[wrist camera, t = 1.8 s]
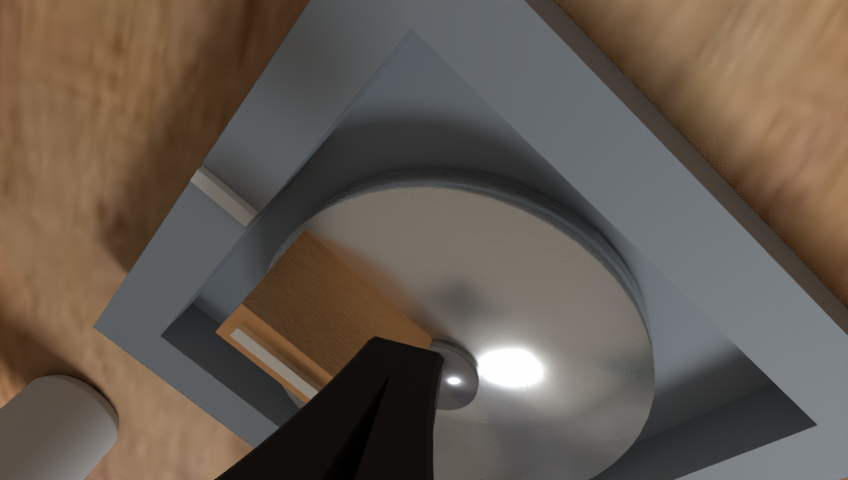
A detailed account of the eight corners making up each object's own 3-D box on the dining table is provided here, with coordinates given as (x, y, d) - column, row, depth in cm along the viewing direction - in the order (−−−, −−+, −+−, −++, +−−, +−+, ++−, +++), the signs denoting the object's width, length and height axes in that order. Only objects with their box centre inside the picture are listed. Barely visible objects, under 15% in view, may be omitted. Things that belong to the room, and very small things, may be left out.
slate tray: (909, 373, 16) (958, 453, 14) (470, 546, 26) (457, 609, 24) (429, -129, 13) (392, -131, 10) (137, 287, 23) (86, 332, 20)
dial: (744, 373, 16) (789, 539, 12) (462, 503, 23) (431, 639, 19) (433, 74, 14) (364, 153, 10) (221, 311, 21) (126, 418, 17)
